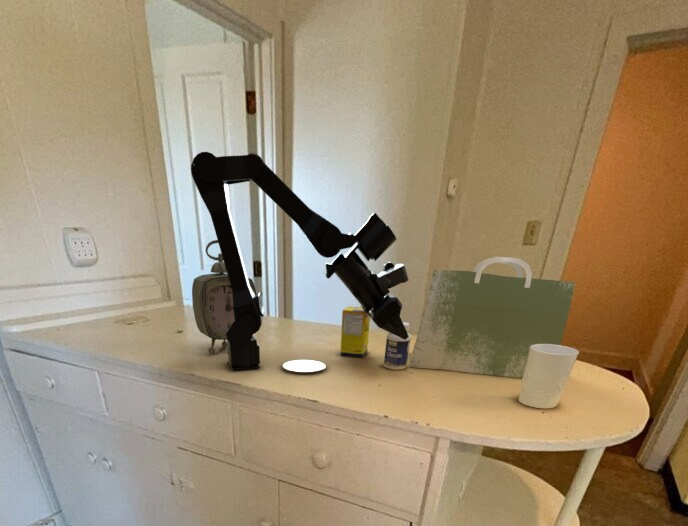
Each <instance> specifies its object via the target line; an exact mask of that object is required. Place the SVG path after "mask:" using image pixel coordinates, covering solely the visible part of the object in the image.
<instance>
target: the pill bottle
mask: <svg viewBox="0 0 688 526" xmlns="http://www.w3.org/2000/svg"><path fill="white" fill-rule="evenodd" d="M402 322H403V324H404V327H405V329H406V331H407V333H408V335H409V337H408V338H407V339H406V340H404V339H402V338H400V337H398V336H396V335H394V334H392V333H390V332H388V334H387V335H386V341H385V348H384V349H385V350H384V356H383V357H384V359H383V366H384V368H386V369H389V370H404V369H406V368H407V366H408V359H409V352H410V345H411V338H412V337H411V334H410V333H409V332H408V331H409V329H410V323H409V322H405V321H402Z"/></svg>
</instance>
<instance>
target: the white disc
mask: <svg viewBox="0 0 688 526" xmlns="http://www.w3.org/2000/svg"><path fill="white" fill-rule="evenodd" d="M326 367H327V366H326V364H325V363H323V362H321V361H317V360H311V359H296V360H290V361H287V362H284V363H283V364H282V370H283V371H284V372H286V373H290V374H294V375H304V376H305V375H315V374H320V373H323V372H324V371H325V370H326V369H327V368H326Z"/></svg>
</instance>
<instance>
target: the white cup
mask: <svg viewBox="0 0 688 526" xmlns="http://www.w3.org/2000/svg"><path fill="white" fill-rule="evenodd" d="M579 354H580V351H579V350H577V349H576V348H574V347H570V346H567V345H561V344H560V345H554V344H535V345H531V346H530V349H529V353H528V357H527V361H526V365H525V370H524V374H523V378H521V384H520V389H519V394H518V402H519V403H521V404H522V405H525V406H528V407H531V408H536V409H552V408H553V409H554V408H555V407H557V406H558V404H559V401H560V399H561V396H562V393H563V392H564V390H565V387H566V384H567V383H568V380H569V379H570V377H571V374H572V371H573V369H574V366H575V364H576V361H577V359H578V356H579Z"/></svg>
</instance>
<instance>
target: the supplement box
mask: <svg viewBox="0 0 688 526" xmlns="http://www.w3.org/2000/svg"><path fill="white" fill-rule="evenodd" d="M369 312H370V311H369ZM341 315H342V316H341V335H340V356H347V357H348V356H349V357H359V358H364V356H365V355H366V354H367V353H368V349H369V336H370V325H371V324H370V322H371V318H370V316H369V315H368V314H367V313H366V312H365V311H364V310H363V308H362V307H361V306H347V307H346V308H343V309H342V313H341Z"/></svg>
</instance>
